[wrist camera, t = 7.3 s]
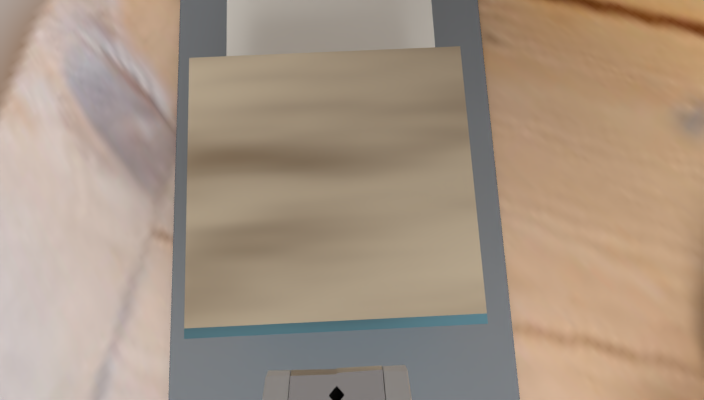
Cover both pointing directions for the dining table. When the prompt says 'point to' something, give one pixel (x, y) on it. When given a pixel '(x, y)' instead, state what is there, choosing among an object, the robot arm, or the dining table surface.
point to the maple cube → (330, 194)
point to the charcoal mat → (358, 345)
